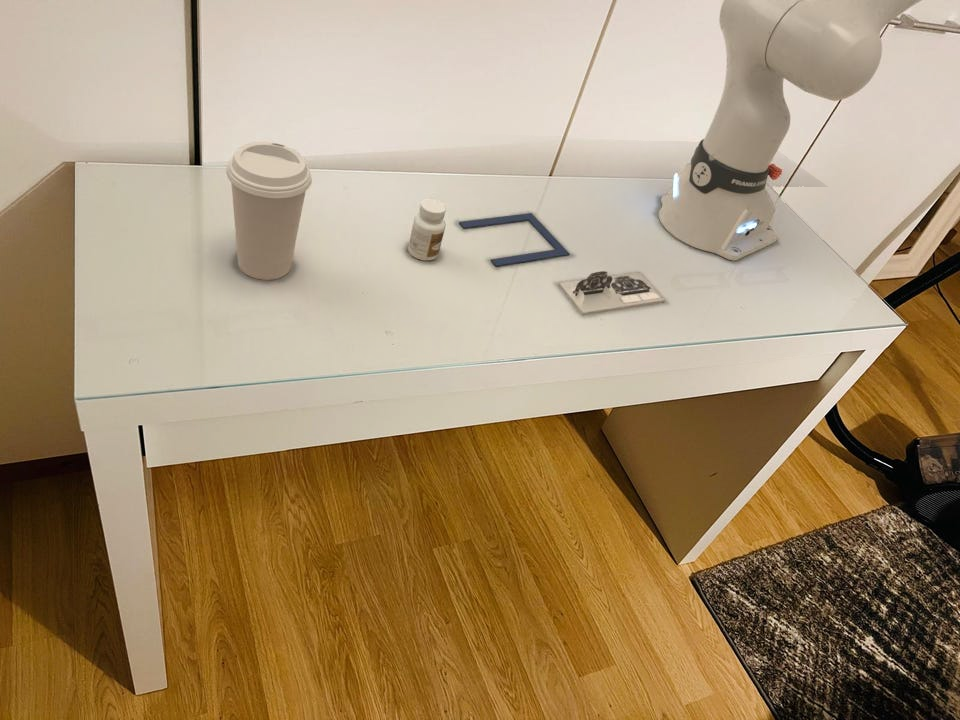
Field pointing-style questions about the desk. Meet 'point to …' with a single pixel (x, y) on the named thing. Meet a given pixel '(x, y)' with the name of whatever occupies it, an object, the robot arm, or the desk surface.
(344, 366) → the desk surface
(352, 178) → the desk surface
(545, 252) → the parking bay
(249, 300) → the desk surface
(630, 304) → the car cutout
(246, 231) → the coffee cup
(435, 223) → the pill bottle
